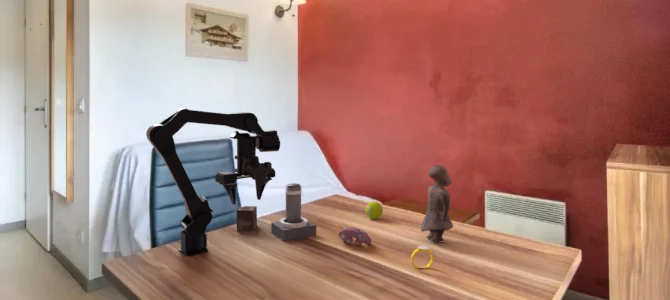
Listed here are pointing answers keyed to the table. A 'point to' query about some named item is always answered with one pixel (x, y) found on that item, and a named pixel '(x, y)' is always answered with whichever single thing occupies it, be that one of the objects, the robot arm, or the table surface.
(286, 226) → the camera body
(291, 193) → the grey travel tumbler
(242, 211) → the box
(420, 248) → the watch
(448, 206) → the clay figurine
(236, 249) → the table surface
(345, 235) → the video game controller
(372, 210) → the tennis ball
